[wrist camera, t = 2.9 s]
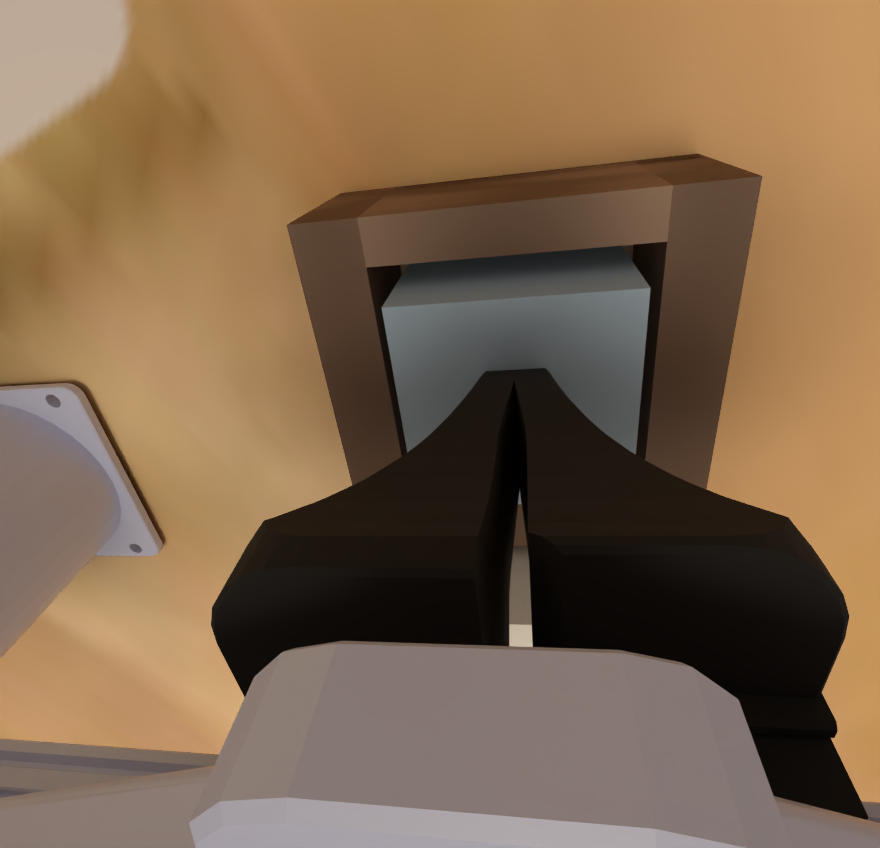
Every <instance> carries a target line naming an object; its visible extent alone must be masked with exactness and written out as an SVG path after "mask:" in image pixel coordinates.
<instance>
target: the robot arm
mask: <svg viewBox="0 0 880 848" xmlns="http://www.w3.org/2000/svg"><path fill="white" fill-rule="evenodd" d="M55 396H56V397H57V398H58V399H59V400H58V399H57V398H56V397H55ZM519 490H520V496H521V503H522V511H523V518H524V526H525V533H526V541H527V548H528V556H529V571H530V595H531V619H532V643H533V647H515V646H509V595H510V576H511V566H512V556H513V547H514V538H515V529H516V519H517V510H518V500H519ZM162 547H163V544H162V541H161V539H160V537H159V535H158V534H157V532H156V530H155V528H154V526H153V524H152V522H151V520H150V518H149V516H148V514H147V512H146V510H145V509H144V507H143V505H142V503H141V501H140V499H139V497H138V495H137V493H136V491H135V489H134V487H133V486H132V484H131V482H130V480H129V478H128V476H127V474H126V472H125V470H124V468H123V466H122V464H121V463H120V461H119V459H118V457H117V455H116V453H115V451H114V449H113V447H112V445H111V443H110V441H109V439H108V438H107V436H106V434H105V432H104V430H103V428H102V426H101V424H100V422H99V420H98V418H97V416H96V415H95V413H94V411H93V409H92V407H91V405H90V403H89V401H88V399H87V397H86V395H85V394H84V392H83V391H82V390H81V389H80V388H79V387H77V386H75V385H73V384H70V383H57V384H39V385H20V386H2V387H0V659H1V658H2V657H3V655H4V654H5V653H6V652H7V651H8V650H9V649H10V648H11V647H12V646H13V644H14V643H15V642H16V641H17V640H18V639H19V638H20V637H21V636H22V635H23V633H24V632H25V631H26V630H27V629H28V628H29V627H30V626H31V625H32V624H33V622H34V621H35V620H36V619H37V618H38V617H39V616H40V615H41V614H42V613H43V611H44V610H45V609H46V608H47V607H48V606H49V605H50V604H51V603H52V602H53V600H54V599H55V598H56V597H57V596H58V595H59V594H60V593H61V592H62V591H63V589H64V588H65V587H66V586H67V585H68V584H69V583H70V582H71V581H72V580H73V578H74V577H75V576H76V575H77V574H78V573H79V572H80V571H81V570H82V569H83V567H84V566H85V565H86V564H87V563H88V562H89V561H90V560H91V559H92V558H93V556H156V555H157V554H158V553H159V552H160V551H161V549H162ZM848 620H849V614H848V610H847V606H846V602H845V599H844V595H843V593H842V592H841V590H840V589H839V587H838V585H837V584H836V582H835V581H834V579H833V578H832V576H831V575H830V573H829V572H828V570H827V568H826V567H825V565H824V564H823V562H822V561H821V559H820V558H819V556H818V555H817V554H816V552H815V551H814V549H813V548H812V546H811V545H810V544H809V543H808V542H807V540H806V539H805V538H804V537H803V535H802V534H801V533H800V532H799V530H798V529H797V528H796V527H795V525H794V524H793V523H792V521H791V520H790V519H789V518H788V517H785V516H782V515H779V514H776V513H773V512H770V511H767V510H764V509H760V508H757V507H754V506H751V505H748V504H745V503H742V502H739V501H736V500H732V499H729V498H726V497H724V496H721V495H718V494H716V493H713V492H711V491H709V490H706V489H704V488H701V487H699V486H696V485H694V484H692V483H689V482H687V481H685V480H683V479H681V478H678V477H676V476H674V475H672V474H670V473H668V472H666V471H664V470H662V469H661V468H659V467H657V466H655V465H653V464H651V463H649V462H648V461H646V460H644V459H642V458H641V457H639V456H637V455H636V454H634V453H632V452H631V451H629V450H628V449H626V448H625V447H623V446H622V445H621V444H619V443H618V442H616V441H615V440H613V439H612V438H611V437H609V436H608V435H607V434H605V433H604V432H603V431H602V430H600V429H599V428H598V427H597V426H596V425H595V424H594V423H593V422H592V421H590V420H589V419H588V418H587V417H586V416H585V415H584V414H583V413H582V412H581V411H580V409H579V408H578V407H577V406H576V405H575V404H574V403H573V402H572V401H571V400H570V399H569V398H568V396H567V395H566V394H565V393H564V391H563V390H562V389H561V388H560V386H559V385H558V384H557V382H556V381H555V380H554V378H553V377H552V375H551V373H550V372H549V371H548V370H547V369H545V368H537V369H519V370H499V371H485V373H484V374H483V375H482V376H481V377H480V378H479V379H478V381H477V382H476V384H475V385H474V386H473V388H472V389H471V390H470V391H469V393H468V394H467V395H466V396H465V398H464V399H463V400H462V401H461V402H460V404H459V405H458V406H457V407H456V408H455V409H454V410H453V412H452V413H451V414H450V415H449V416H448V417H447V418H446V419H445V420H444V421H443V422H442V423H441V424H440V425H439V426H438V427H437V428H436V429H435V430H434V431H433V432H432V433H431V434H430V435H429V436H428V437H426V438H425V439H424V440H423V441H422V442H420V443H419V444H418V445H416V446H415V447H414V448H413V449H411V450H410V451H409V452H407V453H406V454H405V455H403V456H402V457H400V458H399V459H397V460H396V461H394V462H392V463H391V464H389V465H387V466H386V467H384V468H383V469H381V470H379V471H378V472H376V473H374V474H373V475H371V476H370V477H368V478H366V479H364V480H362V481H360V482H358V483H356V484H354V485H352V486H351V487H349V488H347V489H344V490H342V491H340V492H338V493H336V494H334V495H331V496H329V497H327V498H325V499H322V500H320V501H317V502H315V503H312V504H310V505H307V506H304V507H301V508H299V509H296V510H293V511H290V512H288V513H285V514H282V515H280V516H277V517H274V518H271V519H268V520H265V521H264V522H263V523H262V524H261V526H260V527H259V529H258V530H257V532H256V533H255V535H254V536H253V538H252V539H251V541H250V542H249V544H248V546H247V547H246V549H245V551H244V553H243V554H242V556H241V558H240V560H239V561H238V563H237V565H236V567H235V568H234V570H233V572H232V573H231V575H230V577H229V579H228V580H227V582H226V584H225V586H224V587H223V589H222V591H221V593H220V595H219V596H218V598H217V600H216V602H215V603H214V605H213V607H212V620H211V626H212V629H213V632H214V635H215V638H216V641H217V644H218V646H219V648H220V650H221V652H222V654H223V656H224V658H225V660H226V662H227V664H228V666H229V668H230V669H231V671H232V673H233V675H234V677H235V679H236V681H237V683H238V685H239V687H240V689H241V691H242V693H243V695H244V697H245V698H244V701H243V703H242V705H241V707H240V710H239V712H238V714H237V716H236V719H235V721H234V723H233V725H232V727H231V730H230V732H229V734H228V736H227V739H226V741H225V743H224V745H223V748H222V750H221V752H220V754H219V755H217V754H204V753H190V752H176V751H162V750H149V749H135V748H121V747H108V746H94V745H80V744H66V743H53V742H39V741H25V740H11V739H0V848H880V803H876V802H862V801H861V800H860V798H859V796H858V794H857V792H856V790H855V788H854V786H853V784H852V782H851V780H850V778H849V775H848V773H847V771H846V769H845V767H844V765H843V763H842V761H841V759H840V757H839V755H838V753H837V751H836V749H835V747H834V744H833V742H832V740H831V738H834V737H835V735H836V733H837V724H836V720H835V718H834V716H833V714H832V712H831V710H830V708H829V707H828V705H827V703H826V701H825V699H824V697H823V695H822V691H823V688H824V686H825V683H826V681H827V679H828V676H829V674H830V672H831V669H832V667H833V665H834V662H835V660H836V658H837V655H838V653H839V651H840V648H841V646H842V644H843V641H844V639H845V635H846V630H847V625H848Z"/></svg>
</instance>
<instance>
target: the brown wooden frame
mask: <svg viewBox="0 0 880 848" xmlns="http://www.w3.org/2000/svg"><path fill="white" fill-rule="evenodd" d="M761 180H762V176H760V175H757V174H755V173H752V172H749V171H746V170H743V169H740V168H737V167H734V166H732V165H729V164H726V163H723V162H720V161H717V160H714V159H711V158H708V157H706V156H703V155H700V154H692V155H683V156H674V157H665V158H656V159H647V160H638V161H629V162H620V163H611V164H602V165H593V166H584V167H575V168H566V169H557V170H548V171H539V172H530V173H521V174H512V175H503V176H494V177H485V178H476V179H467V180H458V181H448V182H439V183H430V184H421V185H412V186H403V187H394V188H385V189H376V190H367V191H358V192H349V193H341V194H339V195H337V196H336V197H334V198H332V199H330V200H329V201H327V202H325V203H324V204H322V205H320V206H318V207H317V208H315V209H313V210H312V211H310V212H308V213H306V214H305V215H303V216H301V217H300V218H298V219H296V220H294V221H293V222H291V223H289V224H288V225H287V228H288V232H289V236H290V239H291V243H292V247H293V251H294V255H295V259H296V263H297V267H298V271H299V275H300V279H301V283H302V287H303V291H304V295H305V299H306V303H307V307H308V311H309V315H310V319H311V323H312V327H313V330H314V334H315V338H316V342H317V346H318V350H319V354H320V358H321V362H322V366H323V370H324V374H325V378H326V382H327V386H328V390H329V394H330V398H331V402H332V406H333V410H334V414H335V417H336V421H337V425H338V429H339V433H340V437H341V441H342V445H343V449H344V453H345V457H346V461H347V465H348V469H349V473H350V477H351V481H352V485H354V484H356V483H358V482H360V481H362V480H364V479H366V478H368V477H370V476H371V475H373V474H374V473H376V472H378V471H379V470H381V469H383V468H384V467H386V466H387V465H389V464H391V463H392V462H394V461H396V460H397V459H399V458H400V457H402V456H403V455H405V454H406V453H407V447H406V442H405V436H404V431H403V425H402V419H401V414H400V408H399V403H398V397H397V392H396V386H395V380H394V375H393V369H392V364H391V358H390V352H389V347H388V341H387V336H386V330H385V324H384V319H383V313H382V306H383V305H384V303H385V301H386V300H387V298H388V297H389V295H390V293H391V292H392V290H393V289H394V287H395V285H396V284H397V282H398V281H399V279H400V277H401V276H402V274H403V273H404V271H405V269H406V268H407V266H408V265H409V264H414V263H425V262H437V261H448V260H460V259H472V258H483V257H495V256H506V255H518V254H529V253H541V252H553V251H564V250H576V249H587V248H599V247H610V246H622V247H623V248H624V250H625V251H626V253H627V254H628V256H629V257H630V259H631V260H632V261H633V263H634V264H635V266H636V267H637V269H638V270H639V272H640V273H641V275H642V276H643V278H644V279H645V281H646V282H647V284H648V285H649V286H650V288H651V289H650V300H649V312H648V323H647V334H646V345H645V357H644V368H643V379H642V390H641V402H640V413H639V424H638V435H637V447H636V455H637V456H639V457H641V458H642V459H644V460H646V461H648V462H649V463H651V464H653V465H655V466H657V467H659V468H661V469H662V470H664V471H666V472H668V473H670V474H672V475H674V476H676V477H678V478H681V479H683V480H685V481H687V482H689V483H692V484H694V485H696V486H699V487H701V488H704V489H706V488H707V482H708V477H709V471H710V465H711V460H712V454H713V449H714V443H715V437H716V432H717V426H718V421H719V415H720V410H721V404H722V398H723V393H724V387H725V382H726V376H727V370H728V365H729V359H730V354H731V348H732V342H733V337H734V331H735V326H736V320H737V314H738V309H739V303H740V298H741V292H742V286H743V281H744V275H745V270H746V264H747V259H748V253H749V247H750V242H751V236H752V231H753V225H754V219H755V214H756V208H757V203H758V197H759V191H760V186H761ZM514 546H527V541H526V533H525V526H524V518H523V511H522V504H518V510H517V519H516V529H515V538H514Z"/></svg>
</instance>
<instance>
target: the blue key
mask: <svg viewBox="0 0 880 848" xmlns="http://www.w3.org/2000/svg"><path fill="white" fill-rule="evenodd" d="M650 289H651V288H650V286H649V285H648V284H647V282H646V281H645V279H644V278H643V276H642V275H641V273H640V272H639V270H638V269H637V267H636V266H635V264H634V263H633V261H632V260H631V259H630V257H629V256H628V254H627V253H626V251H625V250H624V248H623V247H622V246H610V247H599V248H587V249H576V250H564V251H553V252H541V253H529V254H518V255H506V256H495V257H483V258H472V259H460V260H448V261H437V262H425V263H414V264H409V265H408V266H407V268H406V269H405V271H404V273H403V274H402V276H401V277H400V279H399V281H398V282H397V284H396V285H395V287H394V289H393V290H392V292H391V293H390V295H389V297H388V298H387V300H386V301H385V303H384V305H383V306H382V313H383V319H384V324H385V330H386V336H387V341H388V347H389V352H390V358H391V364H392V369H393V375H394V380H395V386H396V392H397V397H398V403H399V408H400V414H401V419H402V425H403V431H404V436H405V442H406V447H407V452H409V451H410V450H411V449H413V448H414V447H415V446H416V445H418V444H419V443H420V442H422V441H423V440H424V439H425V438H426V437H428V436H429V435H430V434H431V433H432V432H433V431H434V430H435V429H436V428H437V427H438V426H439V425H440V424H441V423H442V422H443V421H444V420H445V419H446V418H447V417H448V416H449V415H450V414H451V413H452V412H453V410H454V409H455V408H456V407H457V406H458V405H459V404H460V402H461V401H462V400H463V399H464V398H465V396H466V395H467V394H468V393H469V391H470V390H471V389H472V388H473V386H474V385H475V384H476V382H477V381H478V379H479V378H480V377H481V376H482V375H483V374H484V373H485V371H499V370H519V369H537V368H545V369H547V370H548V371H549V372H550V373H551V375H552V377H553V378H554V380H555V381H556V382H557V384H558V385H559V386H560V388H561V389H562V390H563V391H564V393H565V394H566V395H567V396H568V398H569V399H570V400H571V401H572V402H573V403H574V404H575V405H576V406H577V407H578V408H579V409H580V411H581V412H582V413H583V414H584V415H585V416H586V417H587V418H588V419H589V420H590V421H592V422H593V423H594V424H595V425H596V426H597V427H598V428H599V429H600V430H602V431H603V432H604V433H605V434H607V435H608V436H609V437H611V438H612V439H613V440H615V441H616V442H618V443H619V444H621V445H622V446H623V447H625V448H626V449H628V450H629V451H631V452H632V453H634V454H636V447H637V435H638V424H639V413H640V402H641V390H642V379H643V368H644V357H645V345H646V334H647V323H648V312H649V300H650ZM518 504H522V503H521V496H520V490H519V500H518Z"/></svg>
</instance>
